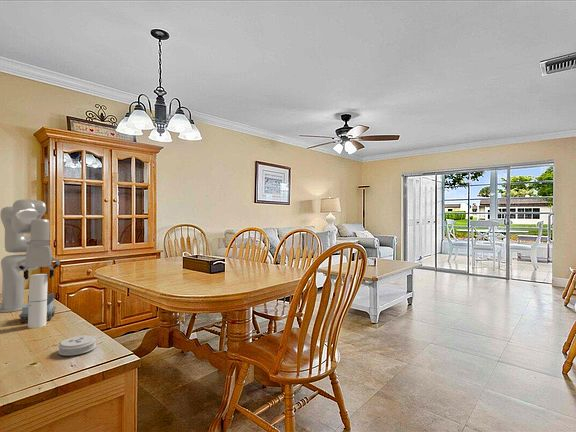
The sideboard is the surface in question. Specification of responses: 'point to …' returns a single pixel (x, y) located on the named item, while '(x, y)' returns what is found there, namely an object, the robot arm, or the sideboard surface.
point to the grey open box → (49, 308)
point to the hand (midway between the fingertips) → (38, 278)
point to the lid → (77, 345)
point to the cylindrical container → (37, 300)
